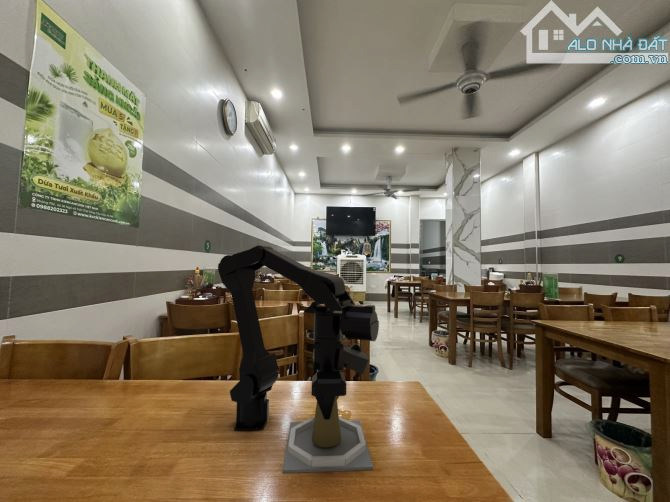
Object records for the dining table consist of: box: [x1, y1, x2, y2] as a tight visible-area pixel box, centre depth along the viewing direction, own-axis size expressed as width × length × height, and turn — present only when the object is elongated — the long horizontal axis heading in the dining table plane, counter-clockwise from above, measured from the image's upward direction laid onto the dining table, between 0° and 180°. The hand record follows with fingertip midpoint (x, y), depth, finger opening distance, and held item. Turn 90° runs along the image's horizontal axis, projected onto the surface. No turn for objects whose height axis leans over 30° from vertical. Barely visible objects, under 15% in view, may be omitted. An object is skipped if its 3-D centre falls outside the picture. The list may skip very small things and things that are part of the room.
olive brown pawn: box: [312, 396, 341, 447], centre depth 60 cm, size 6×6×11 cm
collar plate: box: [282, 416, 374, 474], centre depth 60 cm, size 16×16×2 cm
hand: (326, 413), depth 60 cm, fingers closed on olive brown pawn, 4 cm apart
